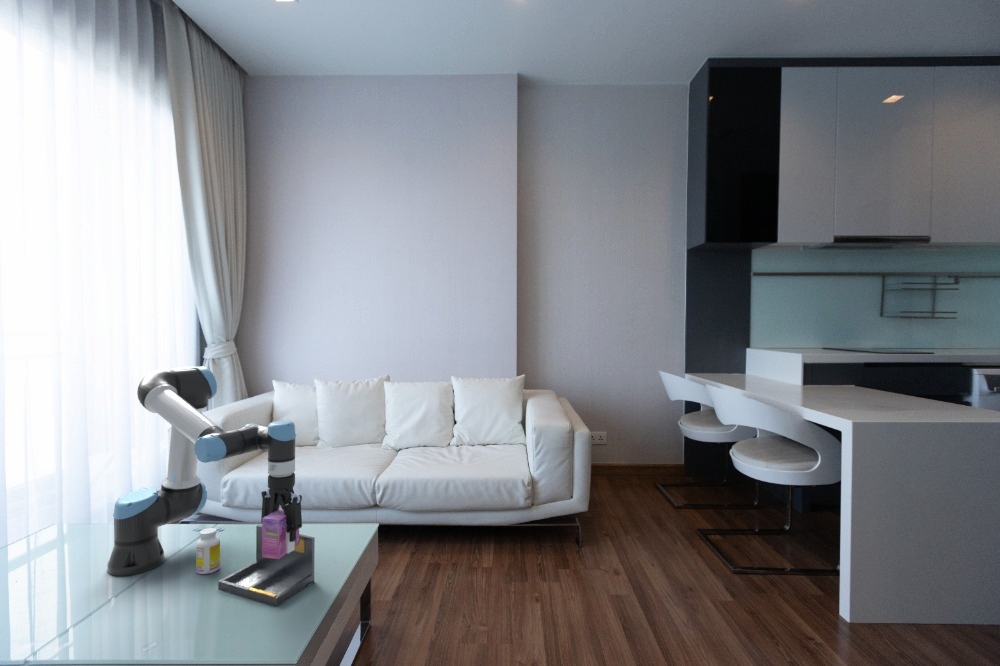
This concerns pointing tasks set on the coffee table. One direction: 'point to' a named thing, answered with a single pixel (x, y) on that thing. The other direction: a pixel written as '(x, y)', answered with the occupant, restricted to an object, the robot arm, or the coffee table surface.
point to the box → (275, 535)
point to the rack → (273, 574)
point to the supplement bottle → (208, 552)
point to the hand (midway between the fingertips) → (281, 549)
